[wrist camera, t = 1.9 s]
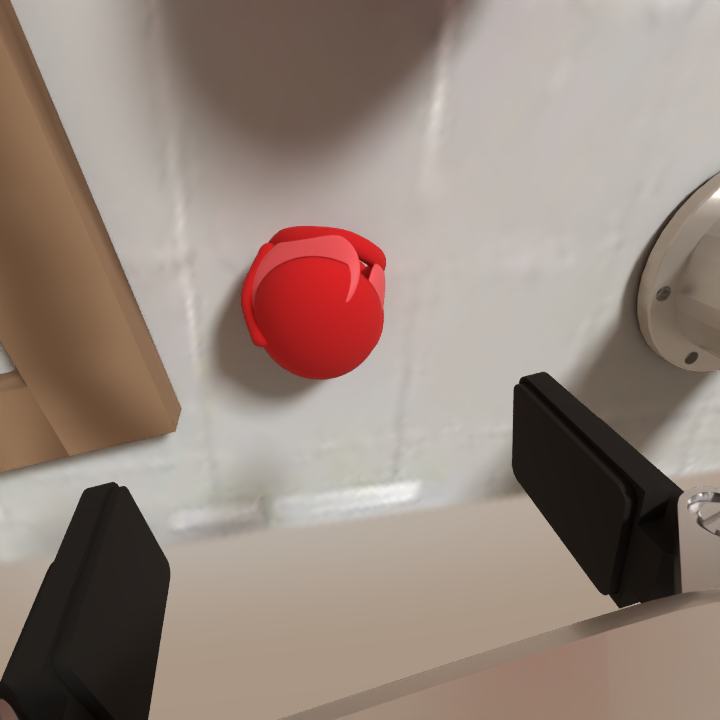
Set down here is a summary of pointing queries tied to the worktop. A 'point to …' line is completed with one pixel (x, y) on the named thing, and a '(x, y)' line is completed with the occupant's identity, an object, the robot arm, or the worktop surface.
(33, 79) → the walnut board
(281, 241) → the red rounded piece
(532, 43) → the worktop surface
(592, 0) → the worktop surface
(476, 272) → the worktop surface
